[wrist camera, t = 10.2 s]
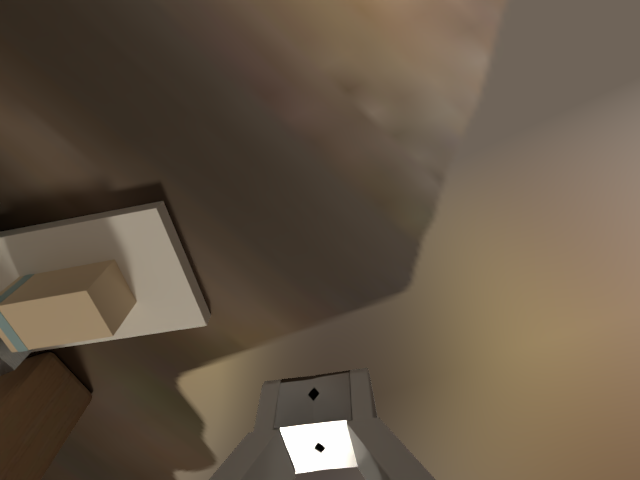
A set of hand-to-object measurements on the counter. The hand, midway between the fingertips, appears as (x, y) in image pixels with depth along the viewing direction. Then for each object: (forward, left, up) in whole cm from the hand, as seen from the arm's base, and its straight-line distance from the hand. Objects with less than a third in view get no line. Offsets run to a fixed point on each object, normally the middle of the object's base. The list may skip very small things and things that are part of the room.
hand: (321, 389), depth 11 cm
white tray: (+12, -33, -32) cm, 48 cm away
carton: (+12, -26, -27) cm, 39 cm away
